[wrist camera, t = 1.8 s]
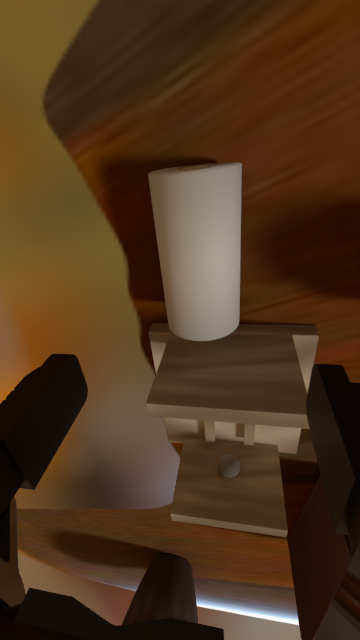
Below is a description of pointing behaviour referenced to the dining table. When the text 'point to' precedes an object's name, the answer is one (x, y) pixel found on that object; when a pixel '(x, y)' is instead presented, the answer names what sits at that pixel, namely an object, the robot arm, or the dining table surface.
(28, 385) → the robot arm
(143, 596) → the plant pot
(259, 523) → the roll holder
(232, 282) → the paper roll
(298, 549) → the letter holder
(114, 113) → the dining table surface
